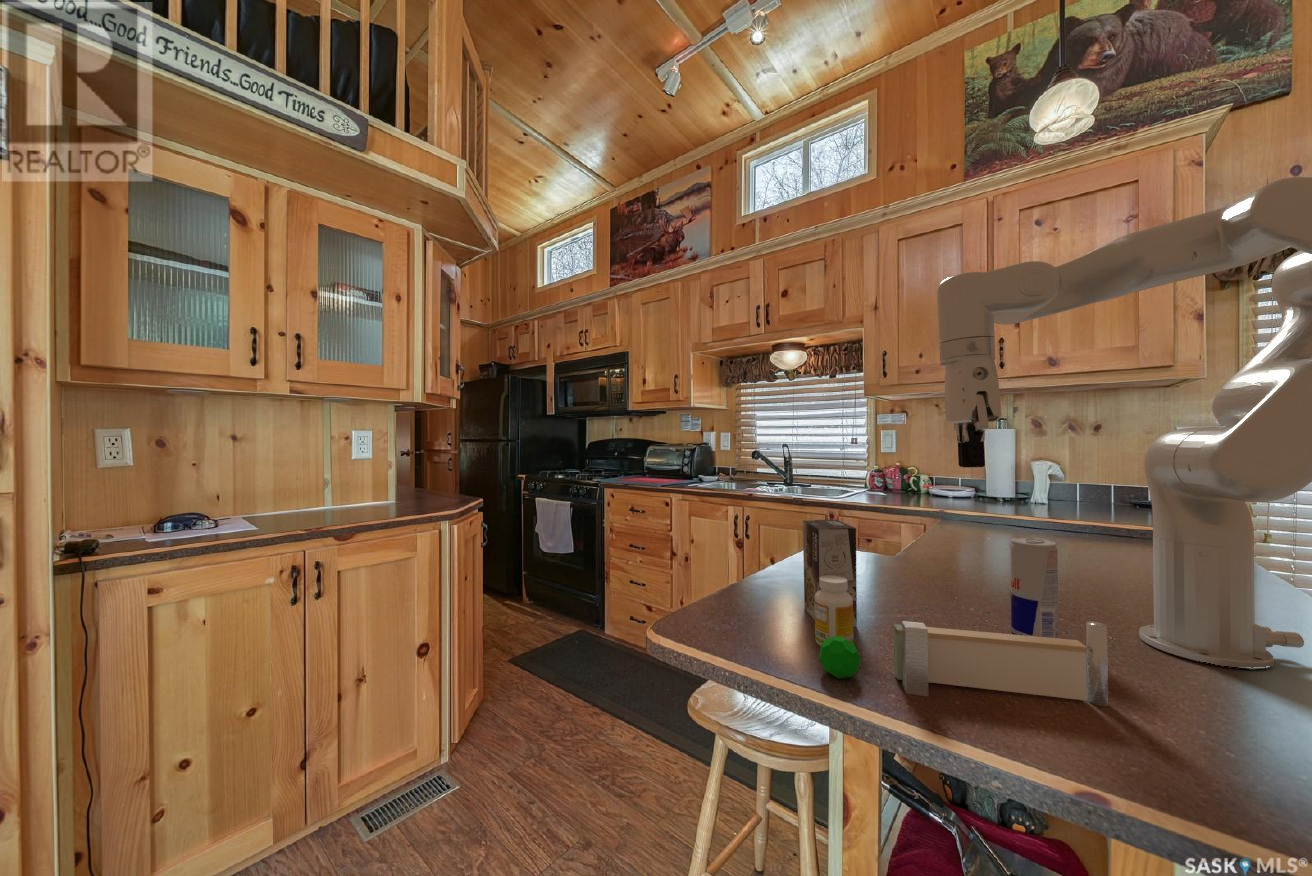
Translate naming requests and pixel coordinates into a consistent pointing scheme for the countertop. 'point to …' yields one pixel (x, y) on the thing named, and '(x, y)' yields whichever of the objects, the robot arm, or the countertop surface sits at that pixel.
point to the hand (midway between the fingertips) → (971, 466)
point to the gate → (1003, 662)
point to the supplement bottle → (833, 609)
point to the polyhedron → (839, 657)
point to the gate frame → (918, 660)
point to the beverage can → (1034, 587)
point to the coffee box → (828, 558)
